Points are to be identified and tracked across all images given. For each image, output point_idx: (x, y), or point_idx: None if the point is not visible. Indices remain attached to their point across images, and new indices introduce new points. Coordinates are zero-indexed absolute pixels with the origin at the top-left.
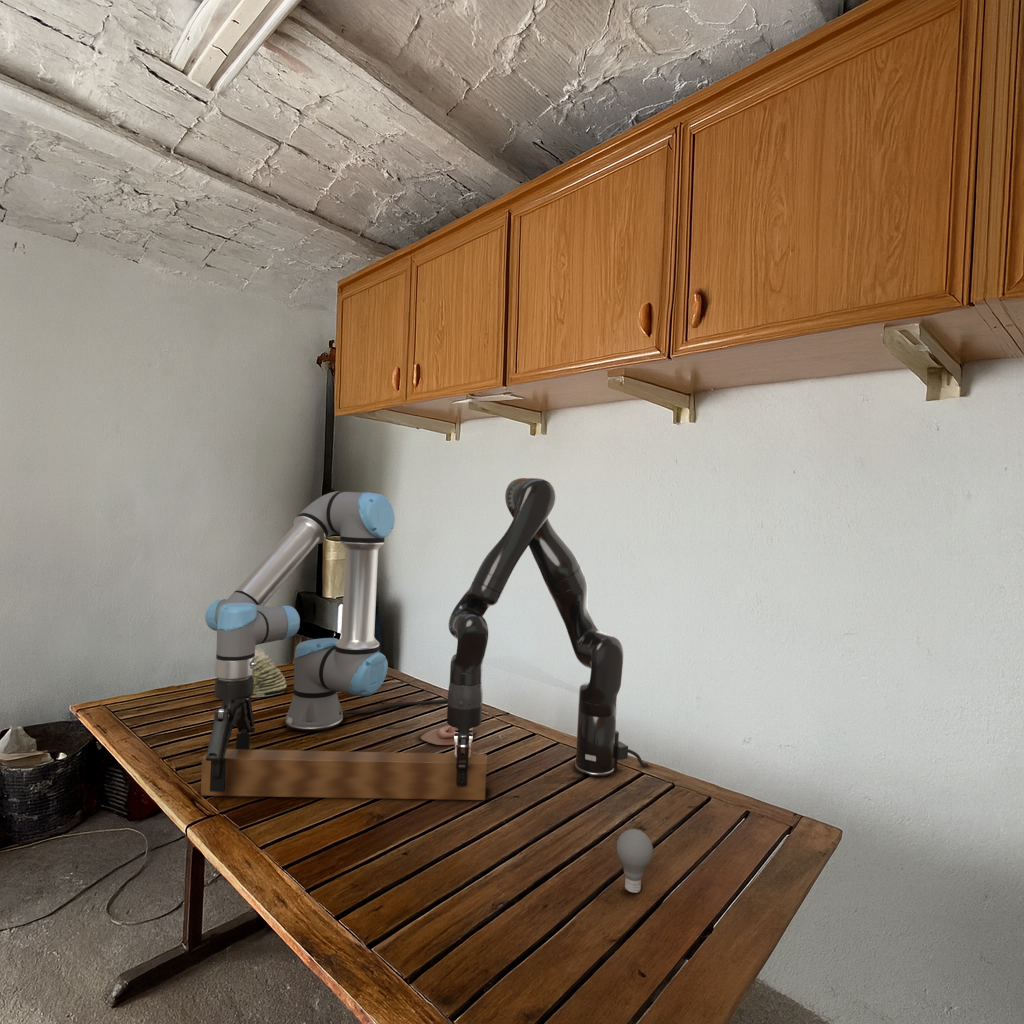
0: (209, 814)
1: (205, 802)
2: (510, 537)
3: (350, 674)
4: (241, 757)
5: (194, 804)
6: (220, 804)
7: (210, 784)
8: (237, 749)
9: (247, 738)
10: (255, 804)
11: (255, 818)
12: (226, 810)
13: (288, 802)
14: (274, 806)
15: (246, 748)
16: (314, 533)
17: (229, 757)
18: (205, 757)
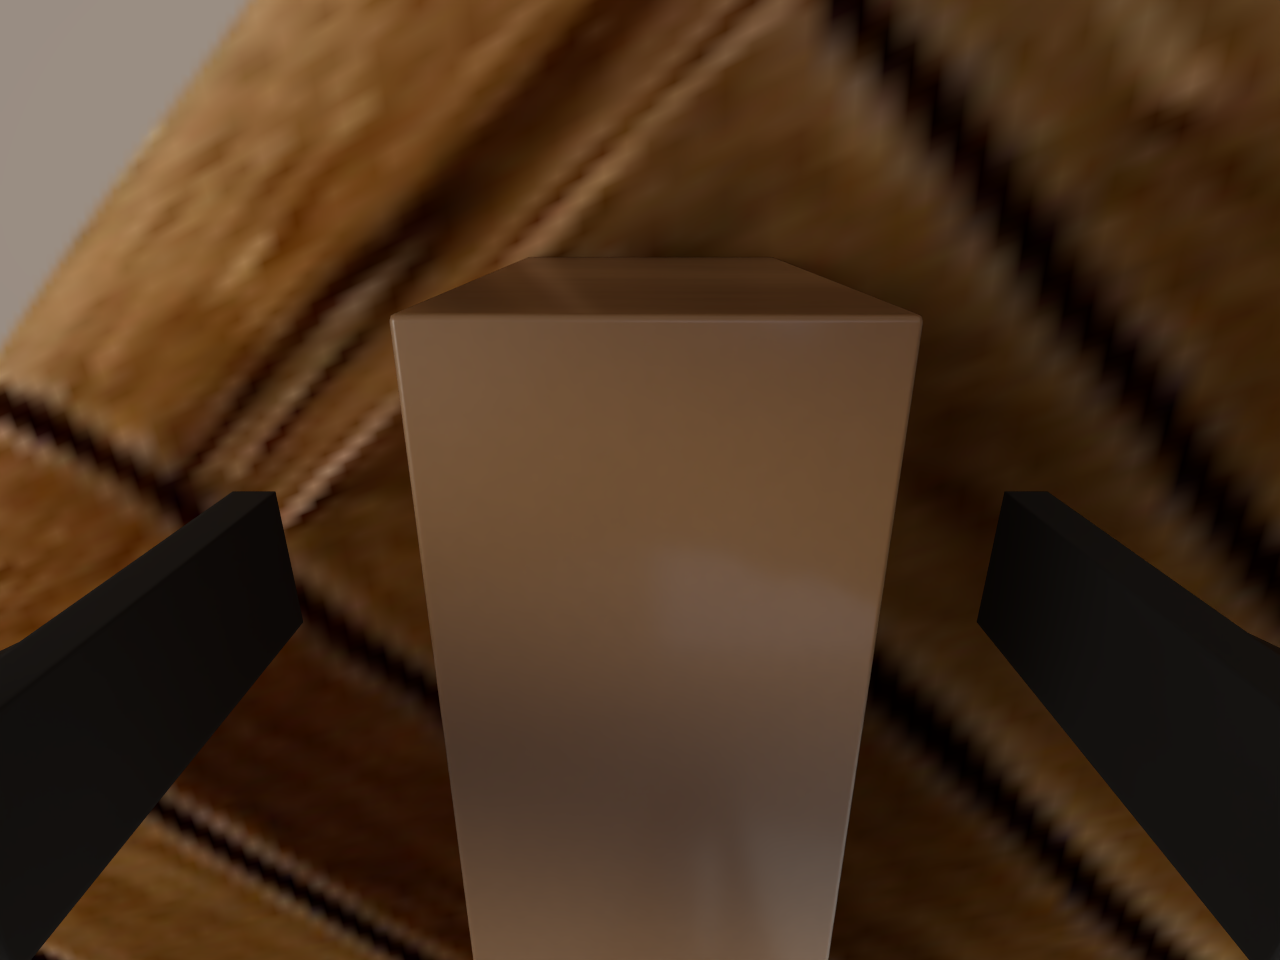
0: (202, 485)
1: None
2: None
3: None
4: (516, 908)
5: (343, 275)
6: (385, 506)
7: (184, 531)
8: (837, 779)
9: (1215, 884)
10: (429, 744)
11: (234, 797)
12: (297, 586)
13: None
14: (420, 854)
15: (1094, 734)
16: None
17: (489, 770)
18: (426, 378)
